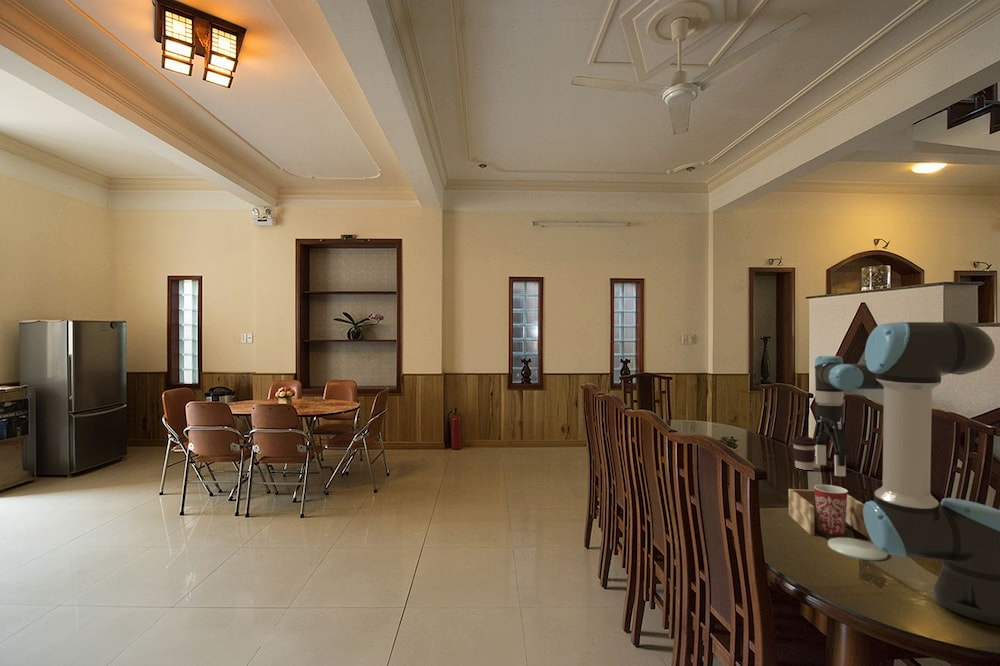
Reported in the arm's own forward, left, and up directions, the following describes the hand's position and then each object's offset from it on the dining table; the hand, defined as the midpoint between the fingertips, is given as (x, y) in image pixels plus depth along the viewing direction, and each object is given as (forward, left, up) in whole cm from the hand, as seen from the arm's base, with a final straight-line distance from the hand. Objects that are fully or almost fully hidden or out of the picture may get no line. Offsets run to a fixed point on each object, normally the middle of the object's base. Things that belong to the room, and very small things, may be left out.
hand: (830, 470), depth 160 cm
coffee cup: (+80, -21, -19) cm, 85 cm away
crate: (+3, 0, -19) cm, 19 cm away
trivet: (-16, 0, -19) cm, 25 cm away
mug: (0, 0, -19) cm, 19 cm away
